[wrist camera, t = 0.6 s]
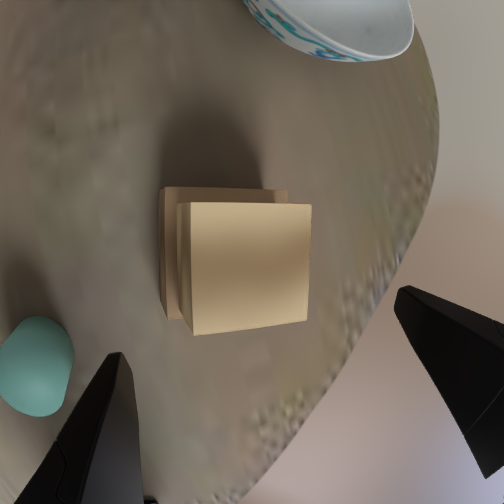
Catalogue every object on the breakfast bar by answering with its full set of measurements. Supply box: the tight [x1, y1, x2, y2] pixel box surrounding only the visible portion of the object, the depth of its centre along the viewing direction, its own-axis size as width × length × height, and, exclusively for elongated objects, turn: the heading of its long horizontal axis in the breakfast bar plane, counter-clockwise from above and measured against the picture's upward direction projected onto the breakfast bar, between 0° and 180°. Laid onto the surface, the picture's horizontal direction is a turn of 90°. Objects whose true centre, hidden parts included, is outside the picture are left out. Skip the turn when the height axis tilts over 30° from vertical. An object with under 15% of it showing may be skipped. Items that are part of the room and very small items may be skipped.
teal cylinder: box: [0, 316, 74, 417], centre depth 16 cm, size 5×5×5 cm
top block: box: [177, 202, 311, 335], centre depth 17 cm, size 6×6×4 cm
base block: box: [159, 187, 288, 319], centre depth 20 cm, size 8×8×4 cm
